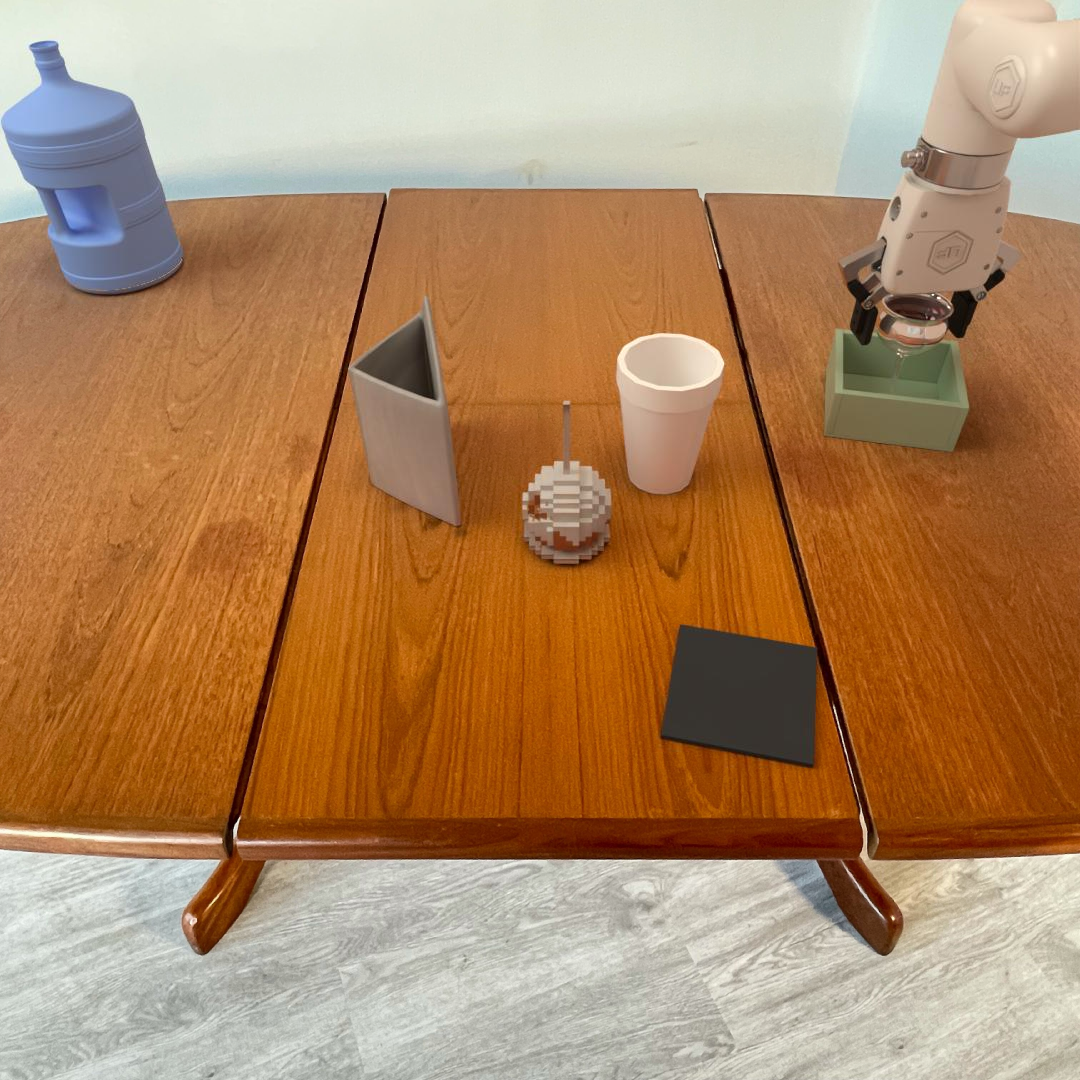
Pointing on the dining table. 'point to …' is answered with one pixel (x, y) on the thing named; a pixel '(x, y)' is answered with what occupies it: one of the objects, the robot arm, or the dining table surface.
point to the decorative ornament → (567, 508)
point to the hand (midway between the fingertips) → (906, 334)
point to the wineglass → (912, 325)
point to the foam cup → (666, 406)
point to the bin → (919, 395)
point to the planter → (408, 418)
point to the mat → (743, 695)
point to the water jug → (93, 180)
